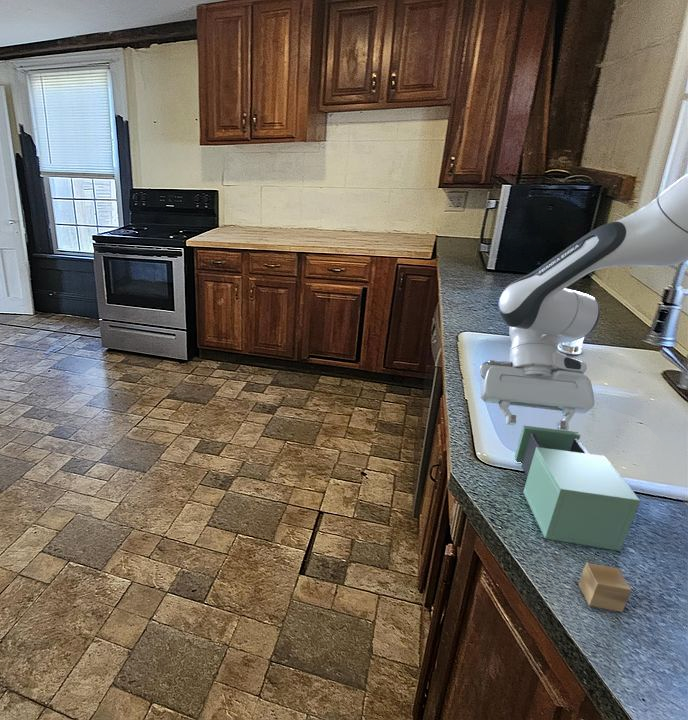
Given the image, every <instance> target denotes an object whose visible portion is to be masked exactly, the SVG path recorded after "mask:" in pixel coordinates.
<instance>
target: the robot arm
mask: <svg viewBox="0 0 688 720" xmlns="http://www.w3.org/2000/svg"><path fill="white" fill-rule="evenodd" d="M686 261H688V173H687V174H684V175H683V176H682V177H680V178H679V179H677V181H676V182H674V183H673V184H671V185H670V186H669V187H668V188H666V189H665V190H664V191H663V192H662V193H661V194H660V195H658V196H657V197H655V198H654V199H653V200H652V201H650V202H649V203H647V204H646V205H644V206H643V207H641V208H640V209H637V210H636V211H634V212H632V213H630V214H629V215H627V216H624V217H622V218H620V219H617V220H615V221H612V222H608V223H605V224H602V225H599V226H598V227H596V228H595V229H592V230H591V231H589V232H588V233H586V234H585V235H583V236H582V237H580V238H579V239H577V240H576V241H574V242H573V243H572V244H570V245H569V246H567V247H566V248H565V249H563V250H562V251H560V252H559V253H558V254H556V255H554V256H553V257H551V258H550V259H549V260H547V261H546V262H544V263H543V264H541V266H539V267H538V268H536V269H534V270H533V271H531V272H529V273H527V274H525V275H522V276H520V277H519V278H517V279H515V280H514V281H512V282H511V283H509V284H508V285H507V286H506V287H505V288H504V289H503V290H502V292H501V294H500V296H499V298H498V303H497V306H498V312H499V314H500V316H501V318H502V320H503V322H504V323H505V324H506V326H508V327H509V329H508V330H509V331H508V332H509V333H508V334H509V338H510V341H511V345H510V348H509V361H500V360H499V361H497V360H491V359H490V360H488V361H485V362H483V363H482V364H481V365H480V376H481V378H482V381H481V385H480V386H481V387H480V398H481V400H482V401H483V403H489V404H497V405H498V407H499V410H500V412H501V413H502V415H503V417H505V422H504V423H505V425H506V426H507V425H508V426H515V425H516V424H517V415H516V414H512V412H511V411H510V409H509V407H510V406H514V407H522V408H530V409H531V408H532V409H540V410H546V411H547V410H549V411H556V412H561V416H562V417H564V418H563V419H562V420H559V421H557V422H556V424H555V425H556V430H564V431H569V428H570V427H569V426H570V425H569V422H570V421H571V419H572V418H573V416H574V415H575V414H586V413H588V412H589V411H591V410H592V409H593V408H594V407H595V395H594V390H593V385H592V381H591V379H590V378H589V376H588V375H586V374H585V373H586V371H587V369H588V366H587V363H586V362H584V361H583V360H580V359H576V358H574V357H571V356H568V355H566V354H565V353H562V352H560V351H559V350H558V347H559V345H560V343H566V342H571V341H574V340H578V339H581V338H583V337H585V338H586V337H587V336H588V335H590V334H592V332H594V331H595V329H597V326H598V324H599V321H600V318H601V307H600V304H599V302H598V300H597V299H596V298H595V297H594V296H592V295H589V294H588V293H584V292H581V291H577V290H575V289H570V288H567V287H569V286H571V285H573V284H574V283H576V282H577V281H578V280H580V279H582V278H583V277H585V276H586V275H588V274H590V273H592V272H594V271H598V270H601V269H605V268H606V269H607V268H614V267H615V268H616V267H652V268H654V267H655V268H656V267H657V268H659V267H660V268H661V267H662V268H663V267H670V266H676V265H680V264H682V263H684V262H686Z"/></svg>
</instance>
